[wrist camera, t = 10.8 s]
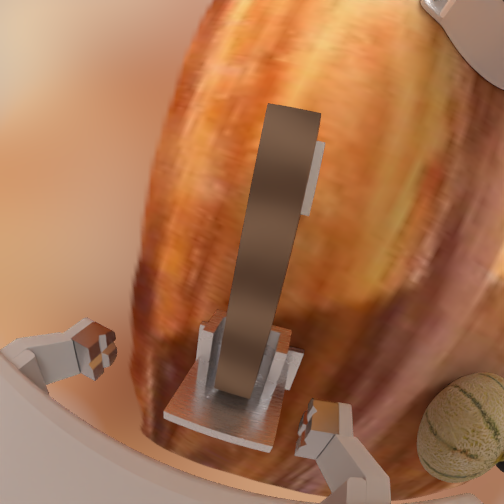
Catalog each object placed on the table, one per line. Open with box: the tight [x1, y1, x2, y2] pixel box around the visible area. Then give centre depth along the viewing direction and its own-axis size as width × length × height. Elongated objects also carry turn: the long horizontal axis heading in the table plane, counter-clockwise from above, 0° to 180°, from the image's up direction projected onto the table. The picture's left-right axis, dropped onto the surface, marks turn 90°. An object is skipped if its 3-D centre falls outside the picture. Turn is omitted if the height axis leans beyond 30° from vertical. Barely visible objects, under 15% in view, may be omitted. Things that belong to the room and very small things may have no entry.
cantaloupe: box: [417, 372, 504, 483], centre depth 20 cm, size 15×15×15 cm
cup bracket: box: [164, 309, 304, 453], centre depth 25 cm, size 10×12×12 cm
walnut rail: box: [214, 103, 321, 399], centre depth 22 cm, size 24×4×4 cm, turn 169°
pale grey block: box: [301, 141, 325, 216], centre depth 23 cm, size 6×5×4 cm
